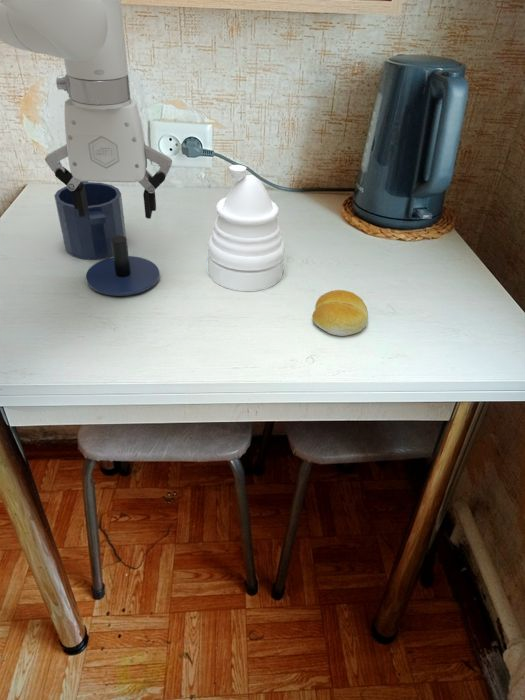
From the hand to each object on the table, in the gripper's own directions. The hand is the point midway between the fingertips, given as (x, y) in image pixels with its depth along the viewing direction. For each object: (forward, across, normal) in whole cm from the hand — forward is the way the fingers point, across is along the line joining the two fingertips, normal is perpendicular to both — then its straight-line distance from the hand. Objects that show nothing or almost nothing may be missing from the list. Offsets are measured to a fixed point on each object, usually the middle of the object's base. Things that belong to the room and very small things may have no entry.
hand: (116, 213), depth 77 cm
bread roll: (+12, +34, -11) cm, 37 cm away
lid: (+11, 0, 0) cm, 11 cm away
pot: (+11, -7, +11) cm, 17 cm away
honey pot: (+12, +20, +3) cm, 23 cm away
